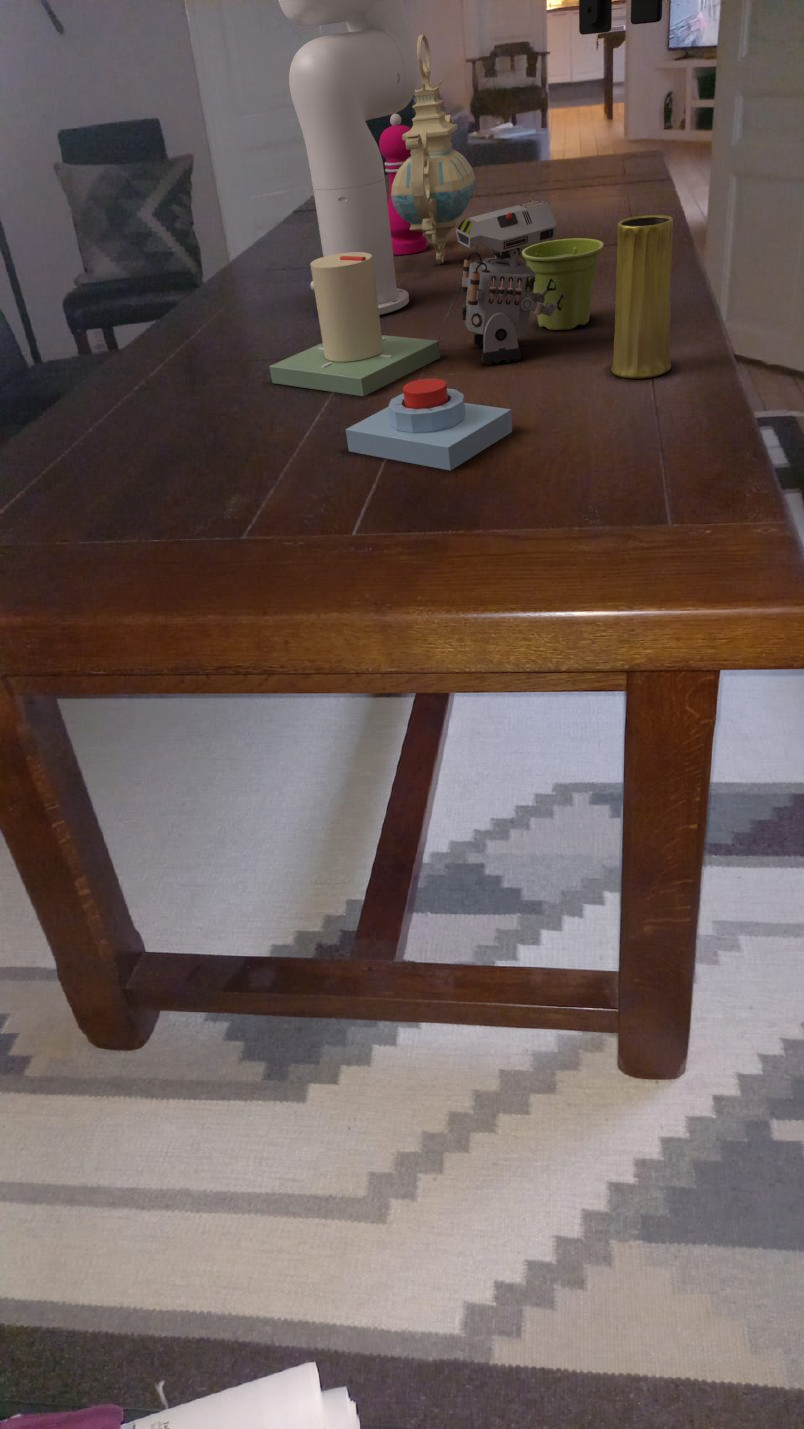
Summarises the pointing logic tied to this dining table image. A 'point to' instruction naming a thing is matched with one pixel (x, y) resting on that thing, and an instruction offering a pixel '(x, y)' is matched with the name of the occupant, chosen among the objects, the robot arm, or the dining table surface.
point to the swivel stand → (355, 367)
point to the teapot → (432, 168)
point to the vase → (643, 297)
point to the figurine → (504, 277)
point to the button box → (430, 432)
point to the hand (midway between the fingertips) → (621, 28)
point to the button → (425, 393)
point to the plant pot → (565, 278)
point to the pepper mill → (395, 156)
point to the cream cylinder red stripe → (347, 306)
